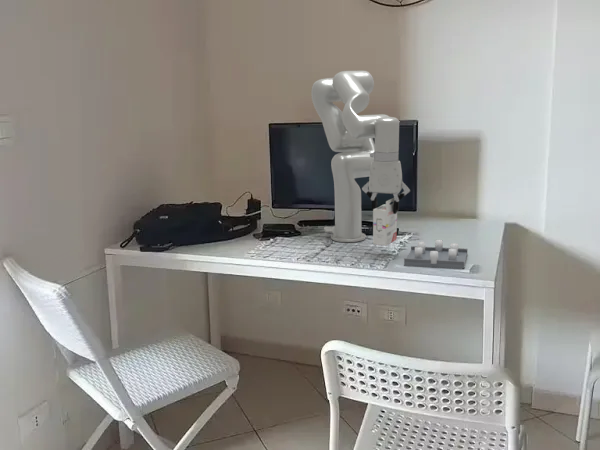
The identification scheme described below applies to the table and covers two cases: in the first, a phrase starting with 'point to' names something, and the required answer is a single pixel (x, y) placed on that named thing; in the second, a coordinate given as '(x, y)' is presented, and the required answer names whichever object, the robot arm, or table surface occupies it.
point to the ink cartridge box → (384, 224)
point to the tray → (440, 258)
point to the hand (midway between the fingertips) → (385, 211)
